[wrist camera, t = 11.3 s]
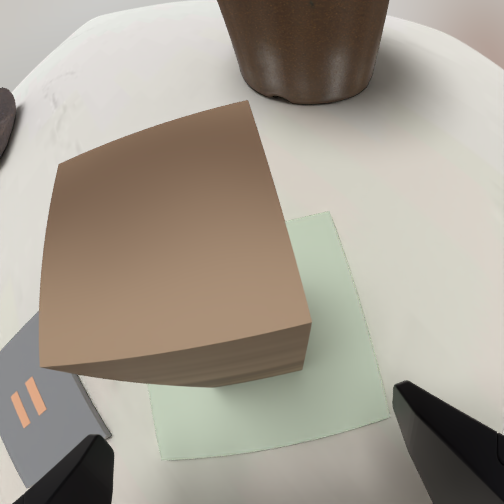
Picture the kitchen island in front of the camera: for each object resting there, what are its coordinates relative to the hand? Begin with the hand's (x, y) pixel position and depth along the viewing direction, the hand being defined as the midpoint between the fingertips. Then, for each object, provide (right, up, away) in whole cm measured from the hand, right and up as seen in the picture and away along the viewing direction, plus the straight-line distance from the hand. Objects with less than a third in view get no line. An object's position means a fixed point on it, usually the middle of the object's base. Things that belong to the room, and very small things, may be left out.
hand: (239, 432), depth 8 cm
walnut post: (0, +1, +8) cm, 8 cm away
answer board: (0, 0, +9) cm, 9 cm away
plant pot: (+6, +22, +18) cm, 29 cm away
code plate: (-15, -6, +8) cm, 18 cm away
